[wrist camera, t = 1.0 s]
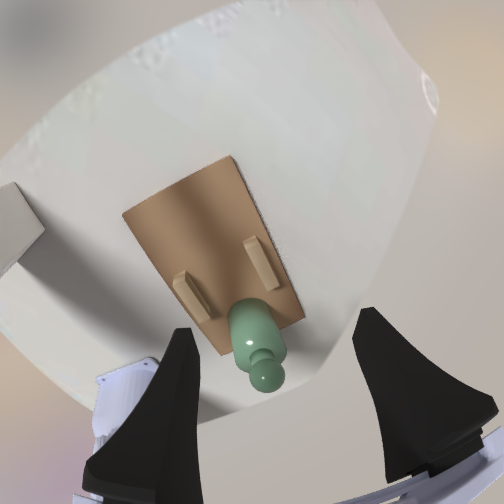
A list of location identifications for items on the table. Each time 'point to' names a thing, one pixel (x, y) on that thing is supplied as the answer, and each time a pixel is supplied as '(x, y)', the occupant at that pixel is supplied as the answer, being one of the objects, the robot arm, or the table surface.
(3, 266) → the milk
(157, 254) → the rest board
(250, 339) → the bottle
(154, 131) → the table surface
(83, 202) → the table surface
